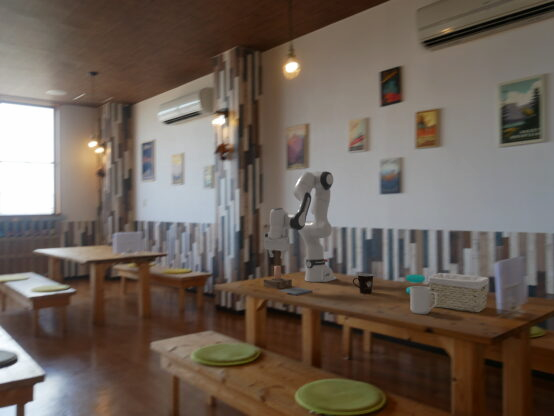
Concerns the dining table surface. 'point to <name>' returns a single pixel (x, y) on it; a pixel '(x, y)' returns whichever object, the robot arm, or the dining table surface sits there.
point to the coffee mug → (365, 283)
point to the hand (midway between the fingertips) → (276, 257)
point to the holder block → (277, 283)
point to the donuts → (414, 280)
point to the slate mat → (296, 291)
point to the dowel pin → (277, 273)
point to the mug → (421, 299)
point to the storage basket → (459, 291)
